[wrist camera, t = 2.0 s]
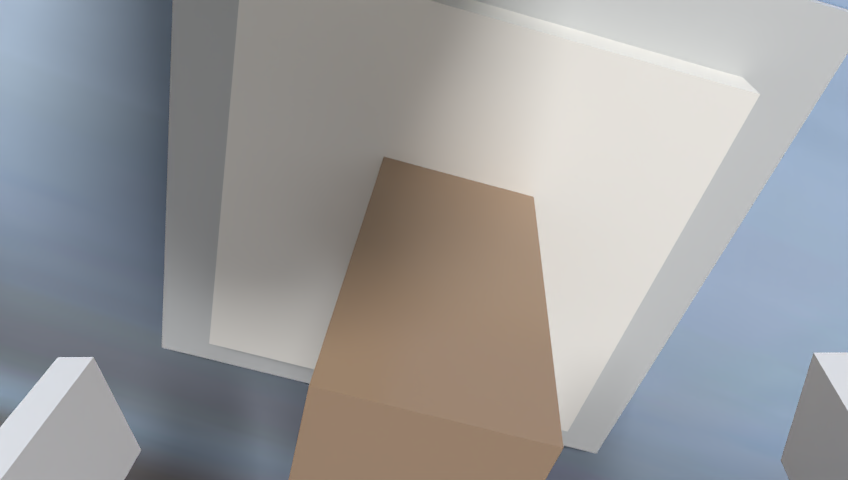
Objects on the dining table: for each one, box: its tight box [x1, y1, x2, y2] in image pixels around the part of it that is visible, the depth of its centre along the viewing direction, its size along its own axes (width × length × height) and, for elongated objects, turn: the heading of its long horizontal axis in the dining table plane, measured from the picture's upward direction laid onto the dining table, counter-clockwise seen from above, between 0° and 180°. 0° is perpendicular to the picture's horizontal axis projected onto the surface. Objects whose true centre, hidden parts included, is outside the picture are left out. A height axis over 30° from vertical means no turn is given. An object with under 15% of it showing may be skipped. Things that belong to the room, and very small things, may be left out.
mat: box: [162, 0, 848, 453], centre depth 19 cm, size 16×16×1 cm
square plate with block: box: [209, 0, 760, 480], centre depth 15 cm, size 12×12×9 cm
